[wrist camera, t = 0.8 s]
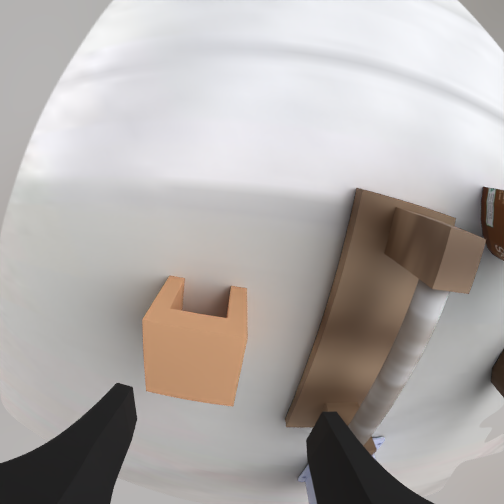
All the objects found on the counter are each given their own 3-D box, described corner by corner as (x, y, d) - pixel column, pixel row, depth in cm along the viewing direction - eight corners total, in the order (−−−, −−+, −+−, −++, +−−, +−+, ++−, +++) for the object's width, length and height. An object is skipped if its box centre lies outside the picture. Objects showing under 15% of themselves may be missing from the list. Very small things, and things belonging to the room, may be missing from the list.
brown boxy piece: (362, 417, 22) (382, 467, 16) (285, 419, 22) (293, 477, 16) (447, 215, 17) (510, 239, 10) (356, 188, 16) (413, 203, 10)
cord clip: (235, 350, 19) (233, 406, 14) (166, 338, 19) (146, 390, 14) (246, 288, 18) (247, 337, 13) (169, 275, 17) (142, 319, 12)
